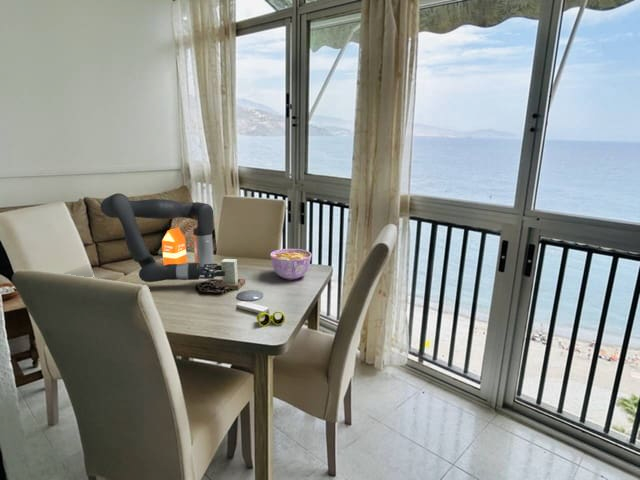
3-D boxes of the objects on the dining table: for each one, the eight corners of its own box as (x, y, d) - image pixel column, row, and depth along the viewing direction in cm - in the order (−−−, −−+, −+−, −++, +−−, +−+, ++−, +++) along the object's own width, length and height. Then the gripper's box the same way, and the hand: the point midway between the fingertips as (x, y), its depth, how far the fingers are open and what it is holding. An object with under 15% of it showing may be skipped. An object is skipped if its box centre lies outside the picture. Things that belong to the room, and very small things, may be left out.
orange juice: (163, 268, 202) (160, 230, 197) (174, 263, 210) (172, 226, 205) (176, 269, 199) (174, 231, 195) (187, 264, 208) (184, 227, 203)
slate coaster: (242, 290, 174) (242, 289, 174) (266, 292, 172) (266, 291, 172) (232, 300, 163) (232, 298, 163) (258, 302, 162) (258, 300, 162)
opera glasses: (282, 321, 147) (282, 308, 147) (285, 325, 142) (285, 311, 142) (256, 324, 144) (256, 310, 144) (258, 328, 139) (258, 314, 139)
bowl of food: (306, 285, 181) (306, 261, 179) (264, 281, 185) (264, 258, 182) (315, 272, 200) (315, 250, 198) (277, 269, 204) (277, 247, 201)
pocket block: (222, 281, 185) (222, 277, 184) (245, 283, 183) (245, 279, 182) (214, 288, 176) (214, 283, 176) (238, 290, 174) (237, 285, 174)
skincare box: (238, 284, 181) (237, 259, 178) (235, 287, 177) (234, 261, 174) (225, 283, 182) (224, 258, 179) (221, 287, 178) (220, 261, 175)
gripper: (184, 268, 167) (224, 267, 170) (190, 258, 181) (226, 258, 183) (186, 285, 169) (224, 283, 171) (191, 274, 183) (227, 273, 185)
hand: (225, 270), depth 177 cm, fingers open, 8 cm apart
